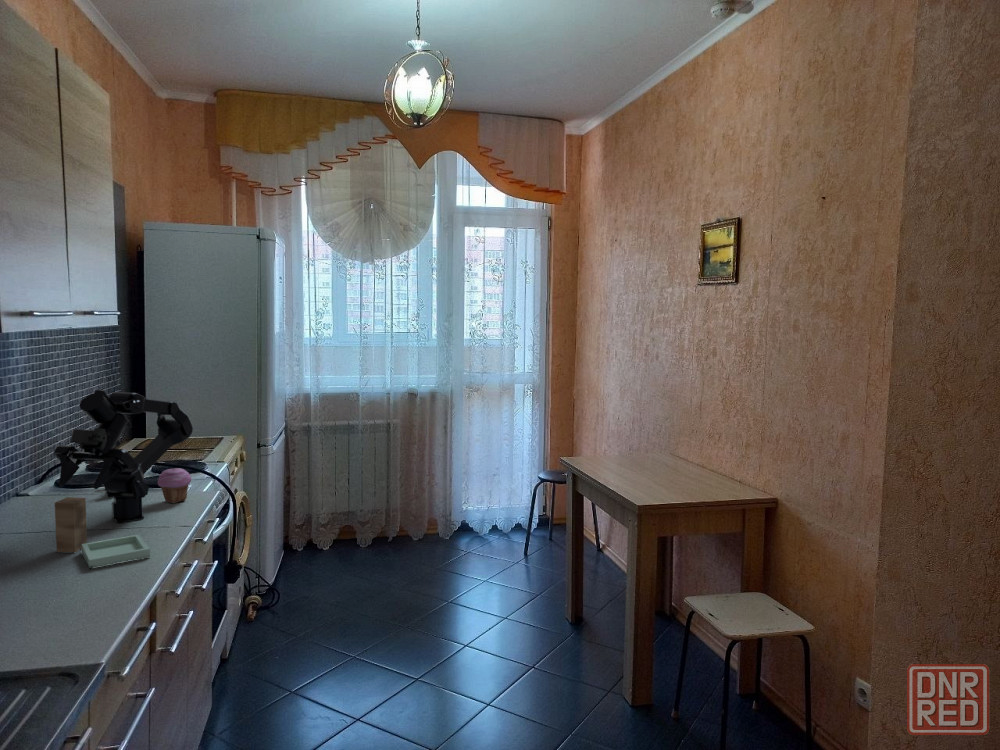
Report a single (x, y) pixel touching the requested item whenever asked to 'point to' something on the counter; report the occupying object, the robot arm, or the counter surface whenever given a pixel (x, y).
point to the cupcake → (174, 484)
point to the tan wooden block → (70, 524)
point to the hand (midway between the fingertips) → (77, 487)
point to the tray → (115, 550)
